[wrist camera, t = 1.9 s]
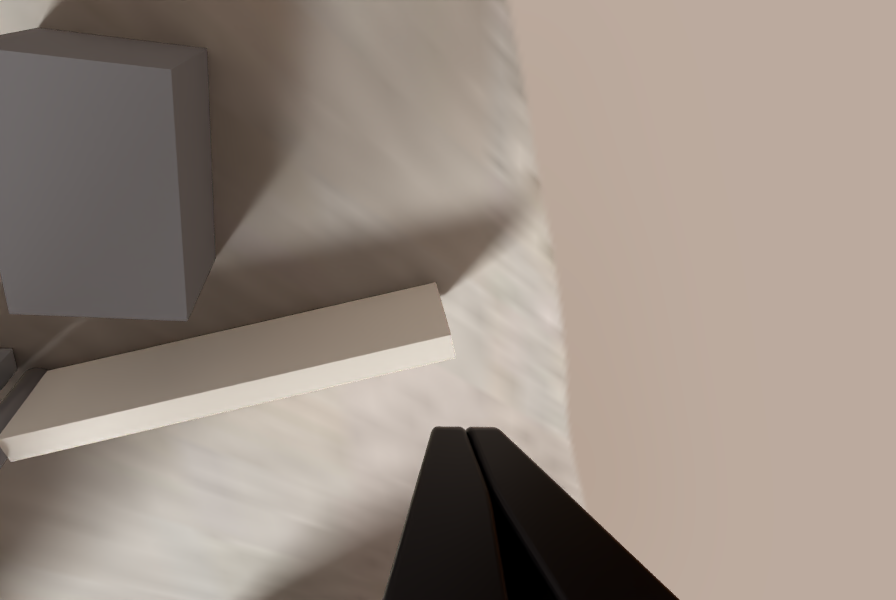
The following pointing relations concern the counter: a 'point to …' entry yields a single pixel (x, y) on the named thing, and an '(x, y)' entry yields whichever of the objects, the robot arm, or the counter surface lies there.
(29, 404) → the cover
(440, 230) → the counter surface
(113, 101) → the tilted gray brick
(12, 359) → the grey angular u-shape
